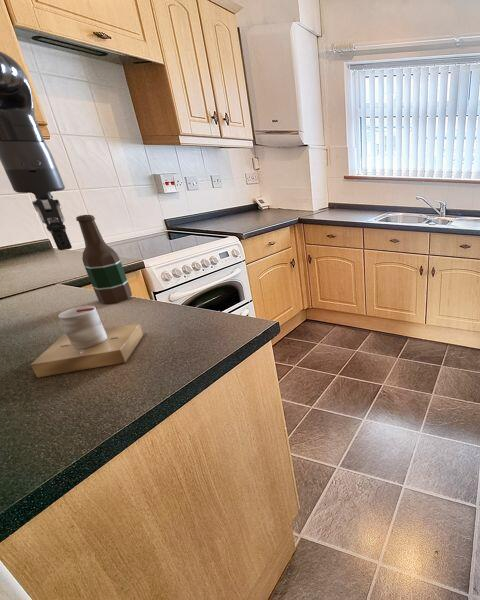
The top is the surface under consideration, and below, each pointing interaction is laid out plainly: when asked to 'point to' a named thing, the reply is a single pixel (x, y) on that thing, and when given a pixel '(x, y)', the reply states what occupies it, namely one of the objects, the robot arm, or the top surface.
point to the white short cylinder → (83, 326)
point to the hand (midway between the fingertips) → (64, 245)
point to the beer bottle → (102, 264)
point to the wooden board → (88, 352)
